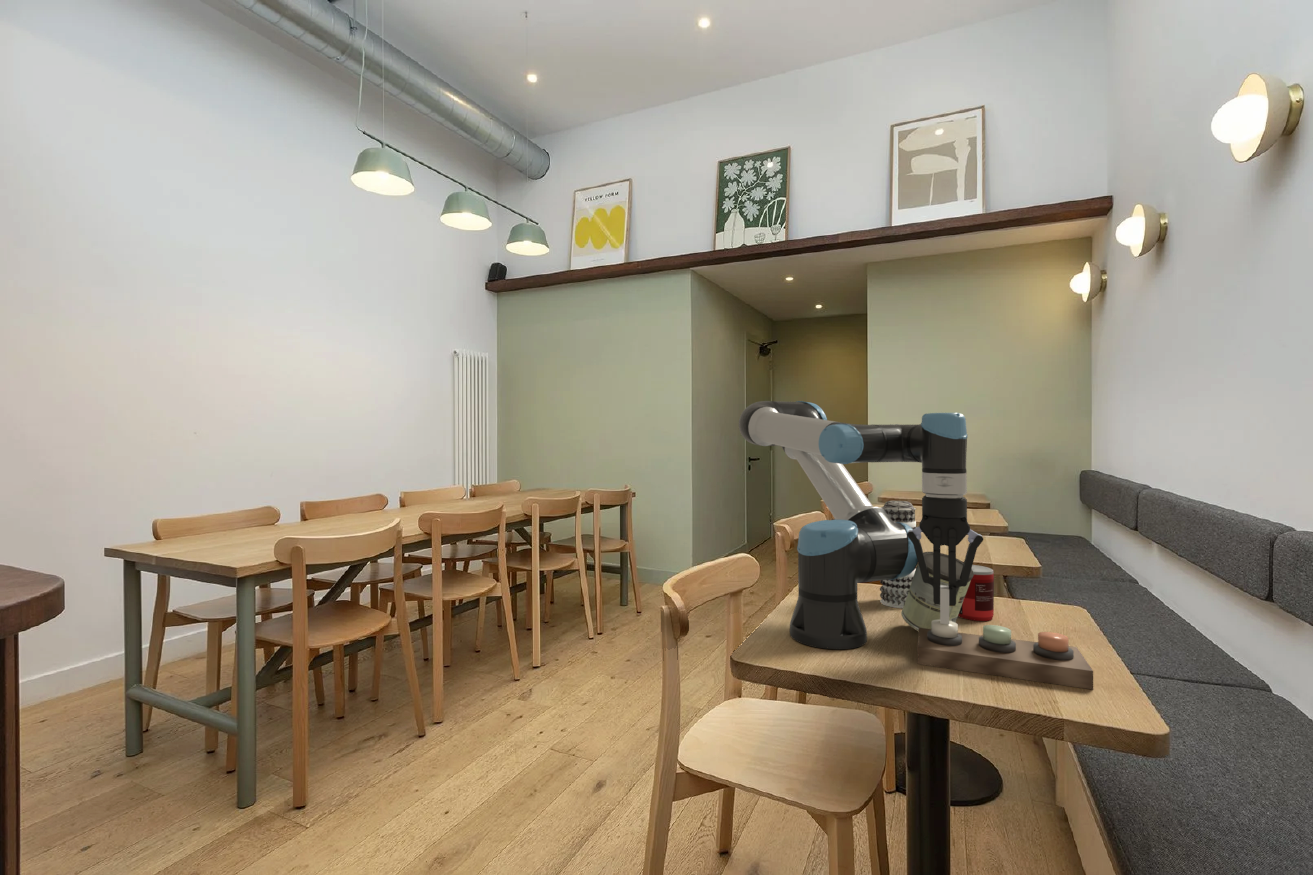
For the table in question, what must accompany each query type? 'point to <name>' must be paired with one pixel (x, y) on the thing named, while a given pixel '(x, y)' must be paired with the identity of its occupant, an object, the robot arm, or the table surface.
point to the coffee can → (931, 595)
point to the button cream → (944, 629)
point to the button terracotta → (1053, 641)
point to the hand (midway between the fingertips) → (944, 621)
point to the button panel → (1005, 659)
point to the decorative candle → (899, 588)
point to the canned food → (979, 596)
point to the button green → (997, 634)
